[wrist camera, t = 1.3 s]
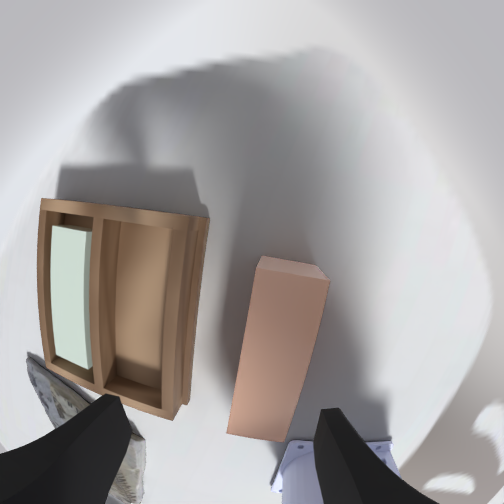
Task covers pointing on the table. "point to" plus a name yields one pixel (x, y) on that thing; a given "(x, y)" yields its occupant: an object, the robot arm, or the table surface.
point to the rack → (131, 301)
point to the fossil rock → (70, 404)
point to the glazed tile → (71, 293)
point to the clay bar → (276, 347)
